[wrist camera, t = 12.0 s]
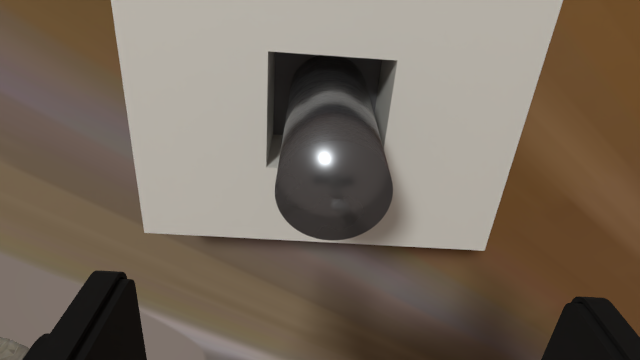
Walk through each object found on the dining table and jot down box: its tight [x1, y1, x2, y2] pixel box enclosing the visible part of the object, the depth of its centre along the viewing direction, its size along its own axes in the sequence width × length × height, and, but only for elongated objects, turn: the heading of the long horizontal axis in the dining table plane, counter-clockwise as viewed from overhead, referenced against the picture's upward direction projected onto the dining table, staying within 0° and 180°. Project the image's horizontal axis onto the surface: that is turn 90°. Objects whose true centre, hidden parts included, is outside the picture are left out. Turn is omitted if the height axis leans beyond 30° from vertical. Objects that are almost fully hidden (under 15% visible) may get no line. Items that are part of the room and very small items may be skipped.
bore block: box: [111, 0, 563, 251], centre depth 22 cm, size 18×14×5 cm
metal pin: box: [275, 55, 393, 240], centre depth 19 cm, size 4×4×10 cm
